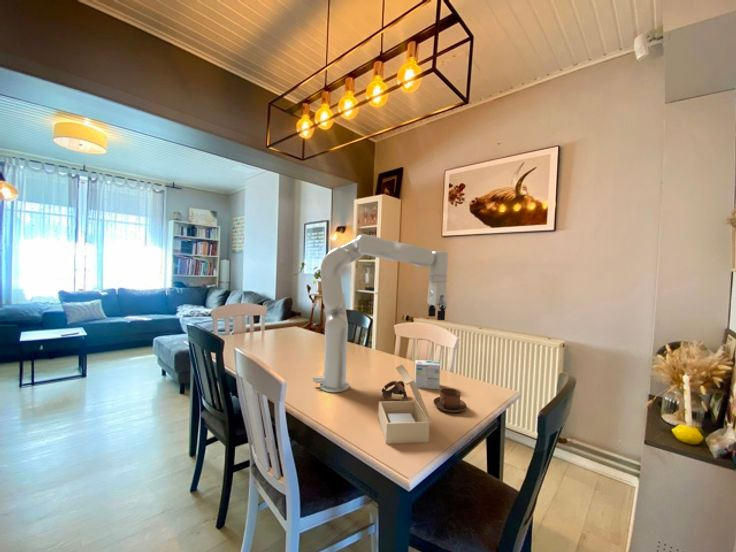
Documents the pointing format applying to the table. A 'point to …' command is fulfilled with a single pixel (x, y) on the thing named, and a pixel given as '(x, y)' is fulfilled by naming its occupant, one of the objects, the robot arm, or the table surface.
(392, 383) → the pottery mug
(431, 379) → the light bulb box
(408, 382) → the lid
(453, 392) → the cup and saucer
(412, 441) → the box
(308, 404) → the table surface
